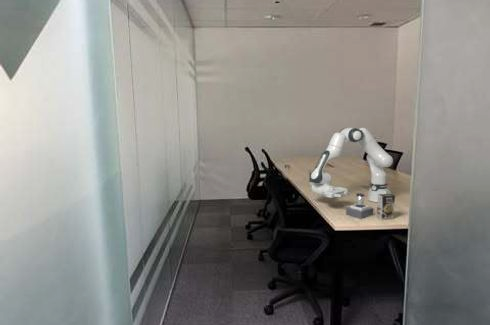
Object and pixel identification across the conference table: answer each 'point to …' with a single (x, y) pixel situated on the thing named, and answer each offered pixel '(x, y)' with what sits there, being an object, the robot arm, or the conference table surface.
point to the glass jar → (360, 200)
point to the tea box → (310, 177)
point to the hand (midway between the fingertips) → (345, 194)
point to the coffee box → (385, 206)
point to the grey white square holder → (359, 211)
